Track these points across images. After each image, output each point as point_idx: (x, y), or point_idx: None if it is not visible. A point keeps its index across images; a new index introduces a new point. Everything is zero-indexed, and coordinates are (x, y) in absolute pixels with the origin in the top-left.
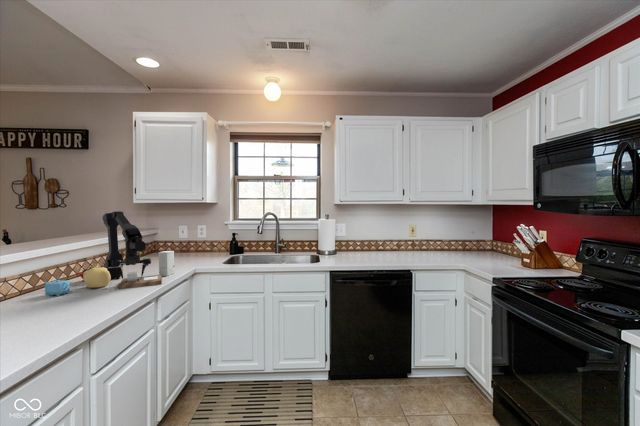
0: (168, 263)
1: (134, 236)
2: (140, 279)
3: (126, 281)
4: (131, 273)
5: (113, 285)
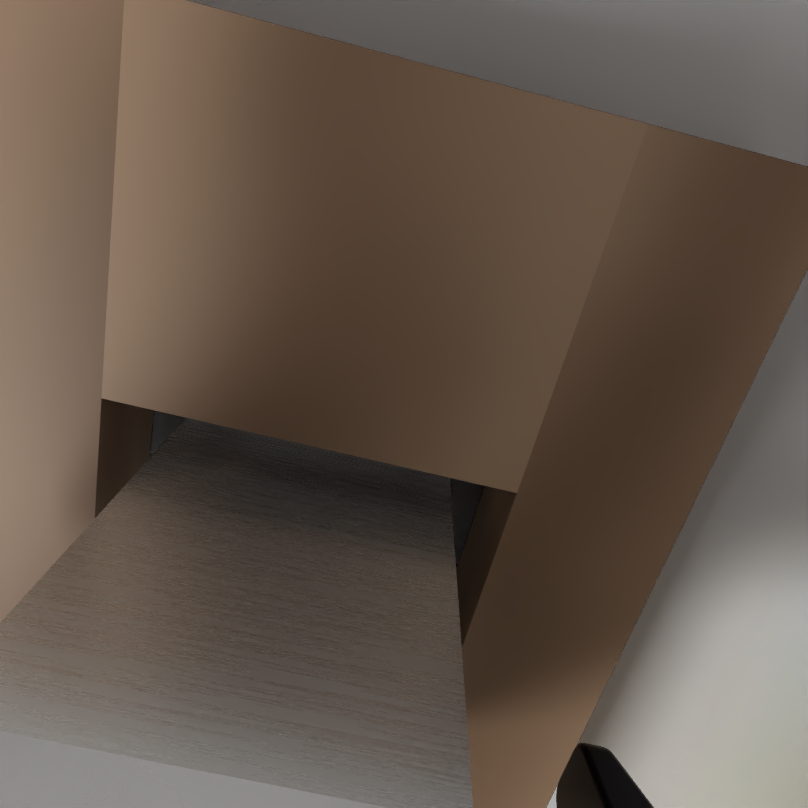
0: None
1: None
2: None
3: None
4: (230, 801)
5: (716, 710)
